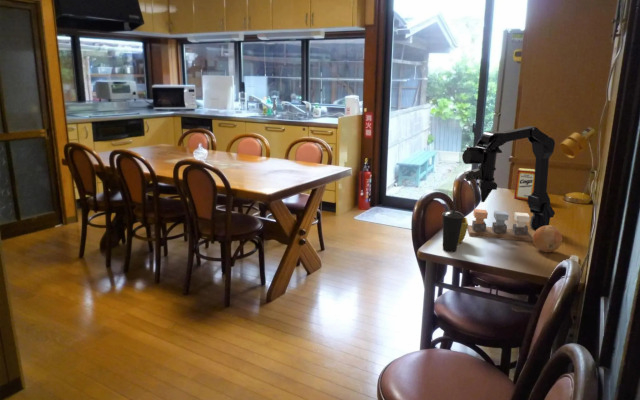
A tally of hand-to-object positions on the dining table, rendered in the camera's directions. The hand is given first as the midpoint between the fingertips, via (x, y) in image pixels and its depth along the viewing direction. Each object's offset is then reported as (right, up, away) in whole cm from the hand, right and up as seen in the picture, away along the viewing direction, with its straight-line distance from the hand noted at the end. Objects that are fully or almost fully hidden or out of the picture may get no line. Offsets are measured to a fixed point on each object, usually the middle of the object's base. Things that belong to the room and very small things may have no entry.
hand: (482, 201), depth 192 cm
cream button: (+15, -10, 0) cm, 18 cm away
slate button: (+7, -10, +1) cm, 12 cm away
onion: (+18, -19, -15) cm, 30 cm away
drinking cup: (-18, -18, -17) cm, 30 cm away
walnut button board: (+7, -13, +2) cm, 15 cm away
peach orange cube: (0, -9, +3) cm, 9 cm away
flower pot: (-14, -16, -8) cm, 22 cm away
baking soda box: (+44, +1, +64) cm, 78 cm away
